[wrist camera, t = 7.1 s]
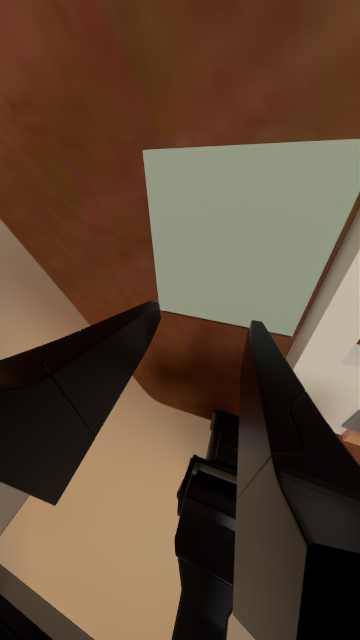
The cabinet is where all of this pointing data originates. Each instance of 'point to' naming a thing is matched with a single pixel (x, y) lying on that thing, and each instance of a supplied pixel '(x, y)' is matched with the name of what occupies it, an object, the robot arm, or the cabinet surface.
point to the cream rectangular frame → (334, 342)
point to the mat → (248, 226)
